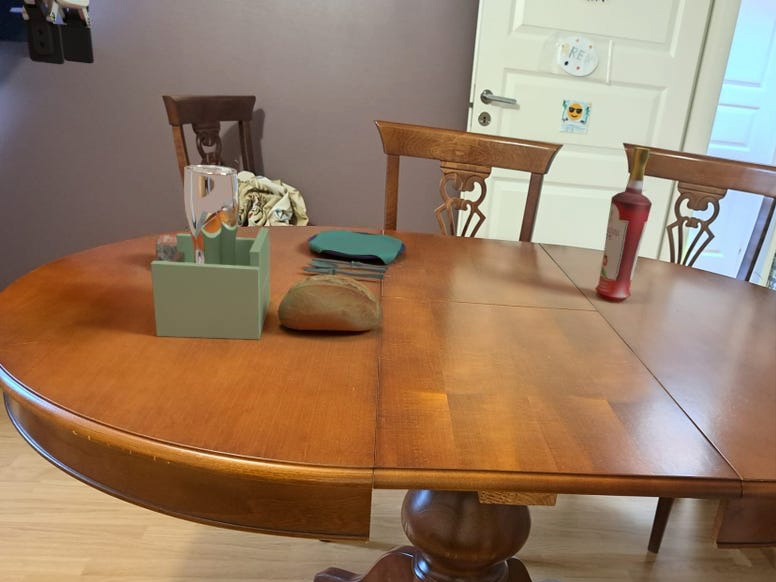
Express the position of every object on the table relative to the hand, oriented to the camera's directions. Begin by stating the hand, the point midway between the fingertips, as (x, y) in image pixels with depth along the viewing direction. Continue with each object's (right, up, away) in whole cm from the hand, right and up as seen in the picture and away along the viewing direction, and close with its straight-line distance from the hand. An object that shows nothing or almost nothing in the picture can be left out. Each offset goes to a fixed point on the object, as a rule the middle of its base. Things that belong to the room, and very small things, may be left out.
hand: (64, 62), depth 77 cm
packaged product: (0, -18, +42) cm, 45 cm away
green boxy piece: (+10, -28, +20) cm, 36 cm away
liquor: (+74, -23, +52) cm, 93 cm away
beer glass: (+11, -23, +17) cm, 31 cm away
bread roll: (+26, -30, +21) cm, 45 cm away
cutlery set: (+23, -14, +56) cm, 62 cm away
